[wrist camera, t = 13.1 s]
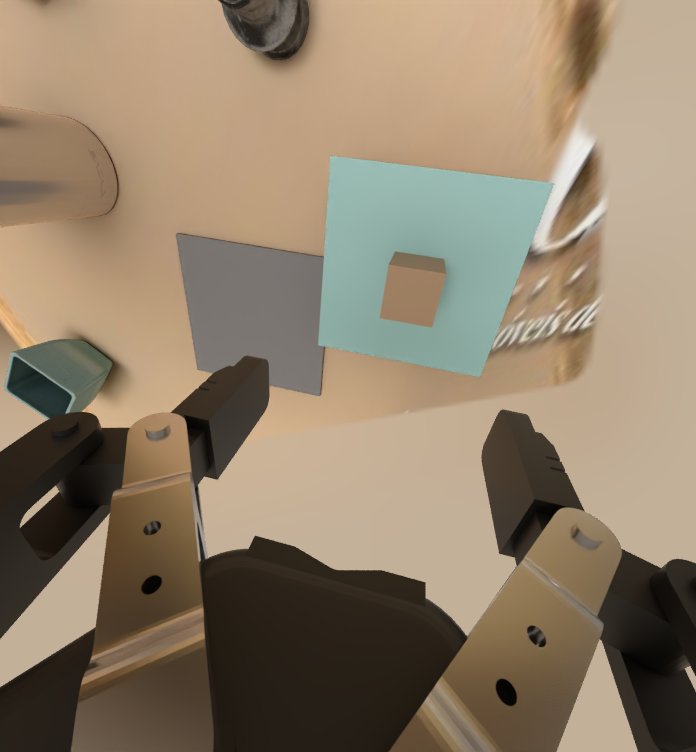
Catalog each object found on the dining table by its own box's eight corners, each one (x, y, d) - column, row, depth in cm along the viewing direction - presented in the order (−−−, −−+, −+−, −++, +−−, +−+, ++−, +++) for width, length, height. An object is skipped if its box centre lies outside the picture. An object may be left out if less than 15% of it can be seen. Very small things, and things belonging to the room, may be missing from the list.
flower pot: (112, 394, 54) (61, 429, 47) (63, 359, 52) (2, 389, 45) (129, 363, 50) (75, 396, 42) (76, 323, 48) (10, 350, 40)
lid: (320, 341, 34) (301, 369, 29) (333, 156, 25) (310, 151, 21) (478, 373, 32) (487, 408, 27) (550, 183, 23) (581, 184, 19)
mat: (199, 367, 47) (197, 369, 47) (178, 233, 38) (175, 233, 37) (320, 394, 45) (319, 396, 44) (331, 258, 35) (330, 259, 35)
